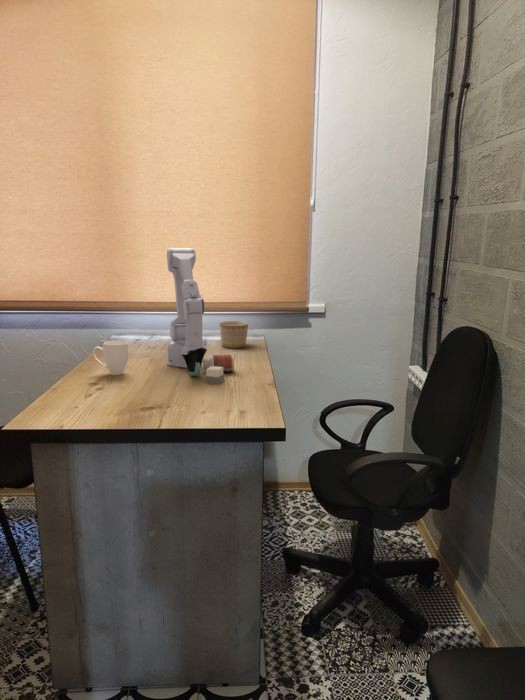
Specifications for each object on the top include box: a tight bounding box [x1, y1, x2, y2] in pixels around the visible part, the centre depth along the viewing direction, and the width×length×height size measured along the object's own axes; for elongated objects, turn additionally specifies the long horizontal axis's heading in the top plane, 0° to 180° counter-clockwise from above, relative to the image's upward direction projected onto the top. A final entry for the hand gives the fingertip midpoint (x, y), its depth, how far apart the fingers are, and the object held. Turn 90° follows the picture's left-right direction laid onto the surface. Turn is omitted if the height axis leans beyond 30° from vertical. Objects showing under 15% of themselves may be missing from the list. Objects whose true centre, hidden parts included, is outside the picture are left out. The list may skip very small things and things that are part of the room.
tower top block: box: [205, 366, 224, 377], centre depth 172 cm, size 4×4×2 cm
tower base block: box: [204, 373, 225, 385], centre depth 173 cm, size 5×5×2 cm
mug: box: [92, 339, 129, 376], centre depth 177 cm, size 12×8×11 cm
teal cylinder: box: [188, 362, 201, 376], centre depth 177 cm, size 4×4×4 cm
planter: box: [219, 320, 249, 349], centre depth 225 cm, size 13×13×10 cm
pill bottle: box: [202, 354, 235, 373], centre depth 184 cm, size 6×6×11 cm
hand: (194, 370), depth 177 cm, fingers closed on teal cylinder, 4 cm apart
